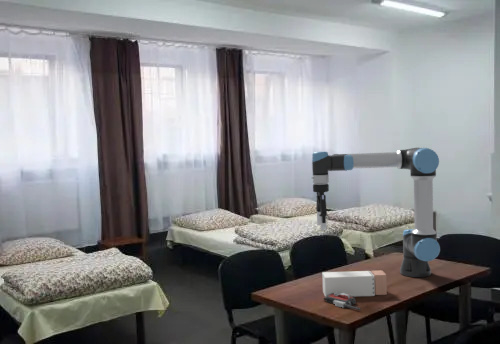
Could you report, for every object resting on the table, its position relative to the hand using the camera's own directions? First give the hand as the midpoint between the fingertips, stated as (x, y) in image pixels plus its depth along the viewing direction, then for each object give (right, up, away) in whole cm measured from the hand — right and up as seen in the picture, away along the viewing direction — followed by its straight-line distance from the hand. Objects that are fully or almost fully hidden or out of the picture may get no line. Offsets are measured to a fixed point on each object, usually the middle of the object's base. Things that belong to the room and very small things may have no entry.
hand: (321, 227), depth 250 cm
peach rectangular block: (+24, -28, -15) cm, 40 cm away
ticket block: (+10, -29, -15) cm, 34 cm away
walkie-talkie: (+6, -30, -30) cm, 43 cm away
